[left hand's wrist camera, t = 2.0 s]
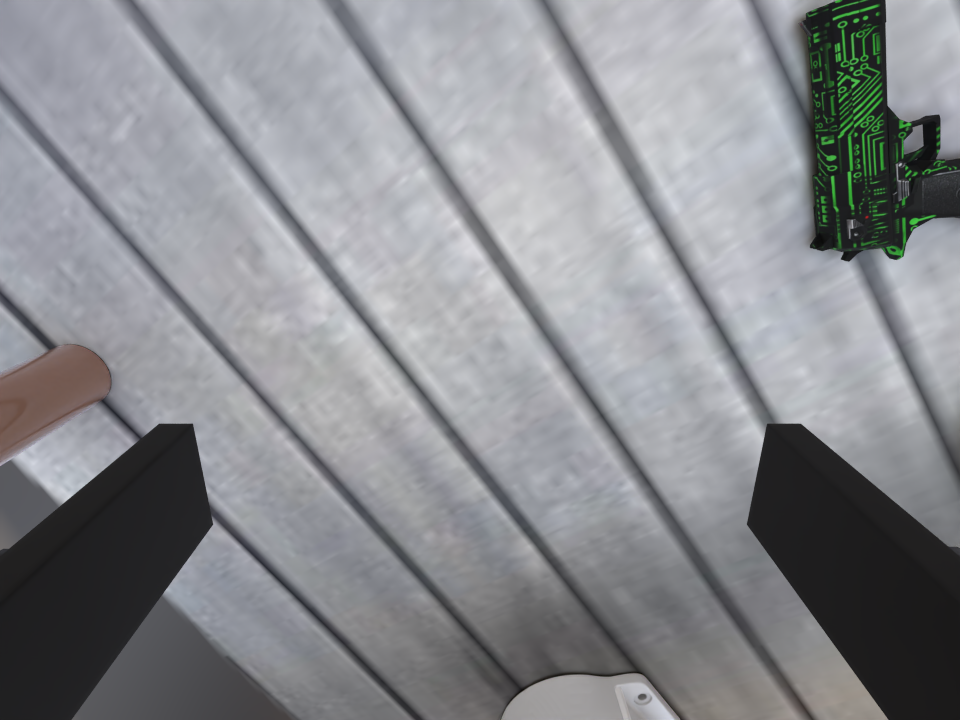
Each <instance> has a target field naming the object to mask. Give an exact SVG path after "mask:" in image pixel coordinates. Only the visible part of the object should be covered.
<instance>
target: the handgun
mask: <svg viewBox="0 0 960 720" xmlns="http://www.w3.org/2000/svg"><path fill="white" fill-rule="evenodd" d="M885 22H886V5H885V0H837V1H835V2H832V3H830V4H828V5H826V6H823V7H820V8H817V9H815V10H812V11H810V12H808V13H806V20H805V21H802V22H800V23H799V24H800V26H801V27H802V28H803V30H804V31H805V32H806V34H807V35H808V46H809V55H810V67H811V81H812V95H813V109H814V123H815V136H816V148H817V159H818V170H819V174H816V175H813V184H814V194H815V206H814V216H815V227H816V237H815V239H814V240H813V241H812V243H811V244H810V248H813V249H817V250H820V251H824V250H828V249H833V250H837V251H841V252H844V253H843V255H842V258H841V260H844V261H850V260H851V259H852V258H853V257H854V256H855V255H856V254H858V253H859V252H861V251H863V250H867V249H877V248H882V249H883V251H884V252H885V254H886V255H887V256H888V257H889V258H890V259H894V260H898V259H900V258H902V257H903V256H904V251H905V246H906V242H907V241H908V239H909V237H910V235H911V233H912V231H913V229H914V228H916V227H918V226H920V225H922V224H924V223H925V222H927V221H929V220H931V219H933V218H947V217H955V218H960V159H954V160H948V161H945V160H936V157H937V155H938V152H939V150H940V116H939V115H930V116H924V117H923V118H921V119H919V120H915V121H912V122H909V123H908V122H906V121H903V120H900V119H899V118H898V117H897V116H896V115H895V114H894V113H893V112H892V110H891V109H890V108H889V107H888V106H887V75H886V33H885ZM922 124H923V142H924V146H923V147H922V148H920V149H919V150H917V151H914V152H912V153H909V154H906V155H904V147H903V141H904V140H905V139H906V138H907V137H908V136H909V135H910V134H911V133H912V132H913V129H912V127H915V126H918V125H922ZM917 158H918V159H917ZM915 159H917V160H915ZM905 163H906V164H905Z"/></svg>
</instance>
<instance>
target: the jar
mask: <svg viewBox="0 0 960 720" xmlns="http://www.w3.org/2000/svg"><path fill="white" fill-rule="evenodd" d="M110 387H111V377H110V373H109V371H108V368H107V367H106V365H105V363H104V362H103V361H102V360H101V359H100V358H99V357H98V356H97V355H96V354H95V353H93V352H92V351H90V350H88V349H86V348H84V347H81V346H78V345H70V344H67V345H60V346H57V347H55V348H53V349H50V350H48V351H46V352H44V353H41V354H39V355H37V356H35V357H33V358H30V359H28V360H26V361H24V362H21V363H19V364H17V365H15V366H13V367H10V368H8V369H6V370H4V371H1V372H0V466H1V465H3V464H4V463H6V462H7V461H9V460H11V459H12V458H14V457H15V456H17V455H18V454H20V453H21V452H23V451H24V450H26V449H28V448H29V447H31V446H32V445H34V444H35V443H37V442H38V441H40V440H42V439H43V438H45V437H46V436H48V435H49V434H51V433H52V432H54V431H55V430H57V429H59V428H60V427H62V426H63V425H65V424H66V423H68V422H69V421H71V420H73V419H74V418H76V417H77V416H79V415H80V414H82V413H83V412H85V411H86V410H88V409H90V408H91V407H93V406H94V405H96V404H97V403H99V402H100V401H102V400H103V399H104V398H105V397H106V396H107V394H108V393H109V390H110Z"/></svg>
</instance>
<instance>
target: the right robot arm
mask: <svg viewBox="0 0 960 720" xmlns="http://www.w3.org/2000/svg"><path fill="white" fill-rule="evenodd" d="M501 720H681V719H680V718H679V717H678V716H677V715H676V713H675V712H674V711H673V710H672V708H671V707H670V706H669V705H668V704H667V702H666V701H665V700H664V699H663V698H662V696H661V695H660V694H659V693H658V692H657V690H656V689H655V688H654V687H653V686H652V684H651V683H650V682H649V681H648V679H647V678H646V677H645V676H643V675H641V674H638V673H630V674H623V675H617V676H612V677H601V676H593V675H564V676H558V677H553V678H550V679H546V680H543V681H541V682H538V683H536V684H534V685H532V686H530V687H528V688H527V689H525V690H524V691H522V692H521V693H520V694H518V695H517V696H516V697H515V698H514V699H513V700H512V701H511V702H510V704H509V705H508V706H507V708H506V710H505V711H504V713H503V716H502V719H501Z"/></svg>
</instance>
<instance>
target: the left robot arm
mask: <svg viewBox="0 0 960 720" xmlns="http://www.w3.org/2000/svg"><path fill="white" fill-rule="evenodd" d="M212 525H213V522H212V517H211V512H210V507H209V502H208V497H207V492H206V487H205V482H204V477H203V472H202V467H201V462H200V457H199V452H198V447H197V442H196V437H195V432H194V427H193V424H158V425H157V426H156V427H155V428H154V429H152V430H151V431H150V432H149V433H148V434H146V435H145V436H144V437H143V438H142V439H140V440H139V441H138V442H137V443H136V444H134V445H133V446H132V447H131V448H130V449H128V450H127V451H126V452H125V453H124V454H122V455H121V456H120V457H119V458H118V459H116V460H115V461H114V462H113V463H112V464H110V465H109V466H108V467H107V468H106V469H104V470H103V471H102V472H101V473H100V474H98V475H97V476H96V477H95V478H94V479H92V480H91V481H90V482H89V483H88V484H86V485H85V486H84V487H83V488H82V489H80V490H79V491H78V492H77V493H76V494H74V495H73V496H72V497H71V498H70V499H68V500H67V501H66V502H65V503H64V504H62V505H61V506H60V507H59V508H58V509H57V510H55V511H54V512H53V513H52V514H50V515H49V516H48V517H47V518H46V519H44V520H43V521H42V522H41V523H40V524H38V525H37V526H36V527H35V528H34V529H32V530H31V531H30V532H29V533H28V534H26V535H25V536H24V537H23V538H22V539H20V540H19V541H18V542H17V543H16V544H14V545H13V546H12V547H11V548H10V549H2V550H0V720H72V718H73V717H74V715H75V714H76V713H77V711H78V710H79V709H80V707H81V706H82V704H83V703H84V702H85V700H86V699H87V697H88V696H89V695H90V693H91V692H92V691H93V689H94V688H95V686H96V685H97V684H98V682H99V681H100V680H101V678H102V677H103V675H104V674H105V673H106V671H107V670H108V669H109V667H110V666H111V664H112V663H113V662H114V660H115V659H116V658H117V656H118V655H119V653H120V652H121V651H122V649H123V648H124V647H125V645H126V644H127V642H128V641H129V640H130V638H131V637H132V636H133V634H134V633H135V631H136V630H137V629H138V627H139V626H140V624H141V623H142V622H143V620H144V619H145V618H146V616H147V615H148V613H149V612H150V611H151V609H152V608H153V607H154V605H155V604H156V602H157V601H158V600H159V598H160V597H161V596H162V594H163V593H164V591H165V590H166V589H167V587H168V586H169V585H170V583H171V582H172V580H173V579H174V578H175V576H176V575H177V573H178V572H179V571H180V569H181V568H182V567H183V565H184V564H185V562H186V561H187V560H188V558H189V557H190V556H191V554H192V553H193V551H194V550H195V549H196V547H197V546H198V545H199V543H200V542H201V540H202V539H203V538H204V536H205V535H206V534H207V532H208V531H209V529H210V528H211V527H212ZM747 525H748V527H749V528H750V529H751V531H752V532H753V534H754V535H755V536H756V538H757V539H758V540H759V542H760V543H761V545H762V546H763V547H764V549H765V550H766V551H767V553H768V554H769V556H770V557H771V558H772V560H773V561H774V562H775V564H776V565H777V567H778V568H779V569H780V571H781V572H782V573H783V575H784V576H785V578H786V579H787V580H788V582H789V583H790V585H791V586H792V587H793V589H794V590H795V591H796V593H797V594H798V596H799V597H800V598H801V600H802V601H803V602H804V604H805V605H806V607H807V608H808V609H809V611H810V612H811V613H812V615H813V616H814V618H815V619H816V620H817V622H818V623H819V624H820V626H821V627H822V629H823V630H824V631H825V633H826V634H827V636H828V637H829V638H830V640H831V641H832V642H833V644H834V645H835V647H836V648H837V649H838V651H839V652H840V653H841V655H842V656H843V658H844V659H845V660H846V662H847V663H848V664H849V666H850V667H851V669H852V670H853V671H854V673H855V674H856V675H857V677H858V678H859V680H860V681H861V682H862V684H863V685H864V687H865V688H866V689H867V691H868V692H869V693H870V695H871V696H872V698H873V699H874V700H875V702H876V703H877V704H878V706H879V707H880V709H881V710H882V711H883V713H884V714H885V715H886V717H887V718H888V720H960V548H958V547H948V546H947V545H946V544H944V543H943V542H942V541H941V540H940V539H938V538H937V537H936V536H935V535H934V534H932V533H931V532H930V531H929V530H928V529H926V528H925V527H924V526H923V525H922V524H920V523H919V522H918V521H917V520H916V519H914V518H913V517H912V516H911V515H910V514H908V513H907V512H906V511H905V510H904V509H902V508H901V507H900V506H899V505H898V504H896V503H895V502H894V501H893V500H892V499H890V498H889V497H888V496H887V495H886V494H884V493H883V492H882V491H881V490H880V489H878V488H877V487H876V486H875V485H874V484H872V483H871V482H870V481H869V480H868V479H866V478H865V477H864V476H863V475H862V474H860V473H859V472H858V471H857V470H856V469H854V468H853V467H852V466H851V465H850V464H848V463H847V462H846V461H845V460H844V459H842V458H841V457H840V456H839V455H838V454H836V453H835V452H834V451H833V450H832V449H830V448H829V447H828V446H827V445H826V444H824V443H823V442H822V441H821V440H820V439H818V438H817V437H816V436H815V435H814V434H812V433H811V432H810V431H809V430H808V429H806V428H805V427H804V426H803V425H802V424H767V427H766V432H765V437H764V442H763V447H762V452H761V457H760V462H759V467H758V472H757V477H756V482H755V487H754V492H753V497H752V502H751V507H750V512H749V517H748V522H747Z"/></svg>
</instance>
